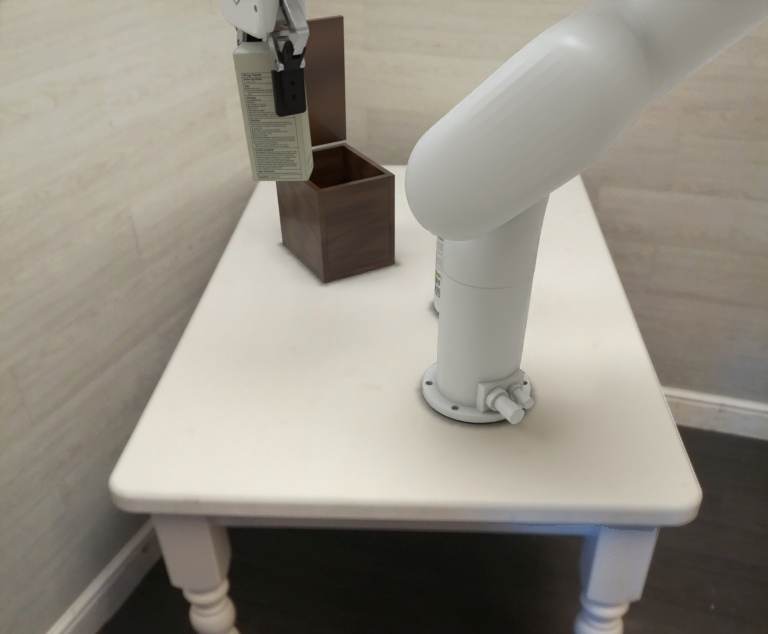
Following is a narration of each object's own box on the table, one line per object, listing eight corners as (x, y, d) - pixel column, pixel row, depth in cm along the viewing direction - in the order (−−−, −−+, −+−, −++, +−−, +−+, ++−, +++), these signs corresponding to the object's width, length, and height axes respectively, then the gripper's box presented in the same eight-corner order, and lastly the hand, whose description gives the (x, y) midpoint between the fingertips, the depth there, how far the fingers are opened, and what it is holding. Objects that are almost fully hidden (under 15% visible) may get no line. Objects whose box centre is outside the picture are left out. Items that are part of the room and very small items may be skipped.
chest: (395, 264, 108) (395, 174, 99) (324, 283, 104) (317, 192, 95) (349, 227, 117) (345, 142, 108) (282, 243, 113) (272, 157, 104)
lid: (343, 16, 96) (326, 6, 99) (261, 27, 92) (245, 17, 95) (346, 140, 107) (330, 128, 110) (273, 154, 103) (259, 142, 106)
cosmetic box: (314, 167, 80) (304, 39, 72) (308, 183, 77) (297, 50, 69) (257, 166, 81) (240, 39, 72) (249, 181, 78) (231, 50, 69)
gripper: (174, -132, 65) (209, 88, 78) (251, -117, 55) (277, 135, 67) (250, -136, 68) (273, 78, 81) (338, -123, 57) (348, 121, 70)
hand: (275, 102), depth 74 cm, fingers closed on cosmetic box, 6 cm apart
